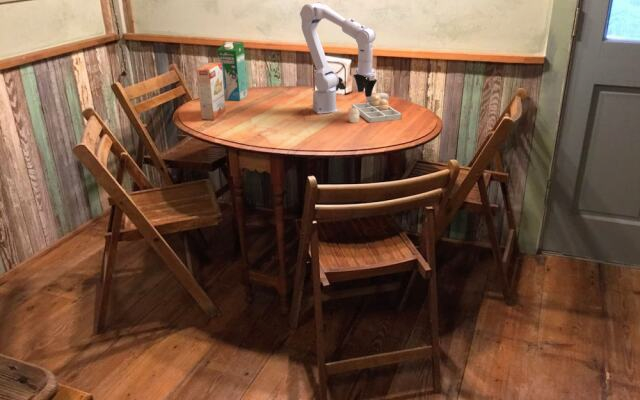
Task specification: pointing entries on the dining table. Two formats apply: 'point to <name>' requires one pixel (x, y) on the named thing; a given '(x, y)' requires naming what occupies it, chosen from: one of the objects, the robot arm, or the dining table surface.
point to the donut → (382, 95)
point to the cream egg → (354, 115)
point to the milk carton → (233, 70)
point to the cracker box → (211, 90)
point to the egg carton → (376, 113)
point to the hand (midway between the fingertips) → (364, 94)
